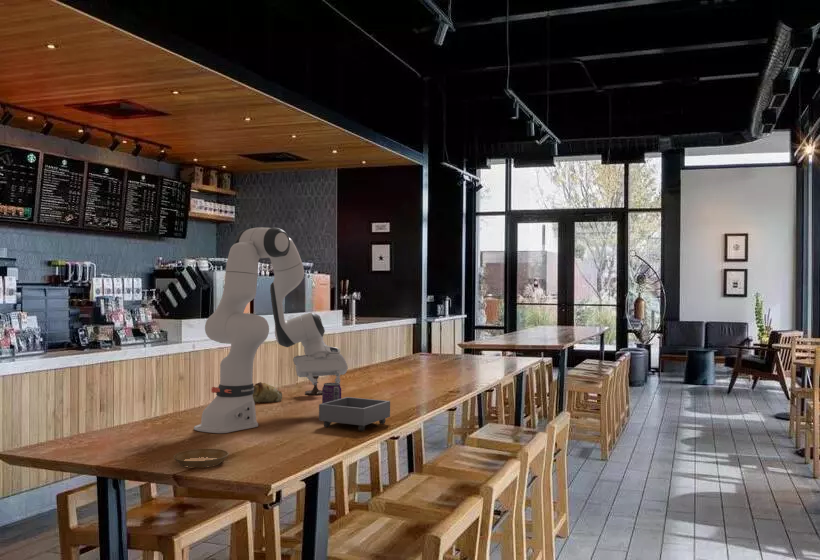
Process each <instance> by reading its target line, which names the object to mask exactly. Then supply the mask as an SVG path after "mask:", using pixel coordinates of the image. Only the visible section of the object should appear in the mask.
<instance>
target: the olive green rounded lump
mask: <svg viewBox="0 0 820 560" xmlns="http://www.w3.org/2000/svg"><path fill="white" fill-rule="evenodd" d="M253 400H254V402H255V403H257V402H258V403H260V402H262V403H263V402H264V403H274V402H275V403H279V401H280V402H281V400H283V393H282V390H278V388H277V387H275V386H273V385H271V384H267V383H265V382H261V381H260V382H257V383H255V384H254V393H253Z"/></svg>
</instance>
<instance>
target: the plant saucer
mask: <svg viewBox="0 0 820 560" xmlns="http://www.w3.org/2000/svg"><path fill="white" fill-rule="evenodd" d="M228 456H229V452H228V451H227V450H224V449H222V448H221V449H219V448H195V449H188V450H183V451H180V452H177V453H175V454H174V455H173V459H174V460H175V461H176V462H177V463H178V464H179V465H180V466H182V467H184V466H188V467H205V468H208V467H207V466H212V467H214V466H213V465H216V466H218V465H221V462H222V463H223V461H225V460H226V458H227V457H228ZM199 457H200V458H201V457H204V458H206V457H208V458H217V459H213V460H205V461H184V460H185V459H190V458H199ZM217 464H218V465H217ZM188 467H187V468H188Z"/></svg>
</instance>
